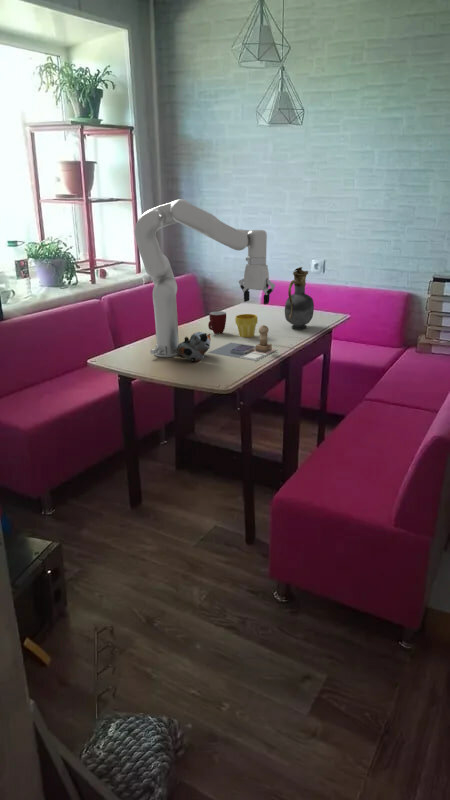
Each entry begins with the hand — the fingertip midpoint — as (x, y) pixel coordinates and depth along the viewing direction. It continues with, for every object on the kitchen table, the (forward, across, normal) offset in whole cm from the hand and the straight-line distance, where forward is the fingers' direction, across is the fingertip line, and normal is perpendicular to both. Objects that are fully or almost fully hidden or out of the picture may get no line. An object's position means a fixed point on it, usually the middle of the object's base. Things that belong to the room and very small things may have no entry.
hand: (256, 302), depth 250 cm
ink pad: (+22, -4, -4) cm, 22 cm away
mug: (+22, -32, +15) cm, 41 cm away
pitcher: (+21, -3, +43) cm, 48 cm away
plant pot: (+22, -17, +18) cm, 33 cm away
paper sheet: (+21, +4, -4) cm, 22 cm away
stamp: (+20, +4, 0) cm, 21 cm away
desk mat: (+22, -4, -4) cm, 22 cm away
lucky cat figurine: (+22, -17, -22) cm, 36 cm away
